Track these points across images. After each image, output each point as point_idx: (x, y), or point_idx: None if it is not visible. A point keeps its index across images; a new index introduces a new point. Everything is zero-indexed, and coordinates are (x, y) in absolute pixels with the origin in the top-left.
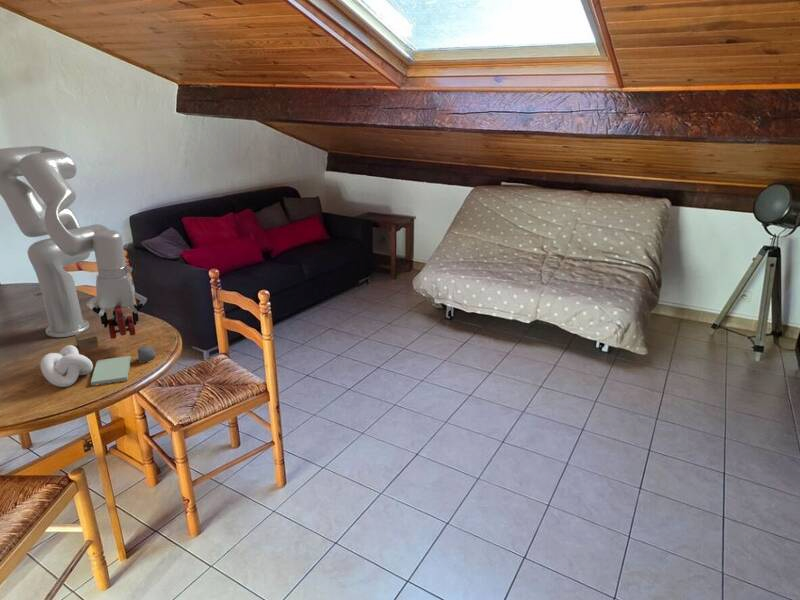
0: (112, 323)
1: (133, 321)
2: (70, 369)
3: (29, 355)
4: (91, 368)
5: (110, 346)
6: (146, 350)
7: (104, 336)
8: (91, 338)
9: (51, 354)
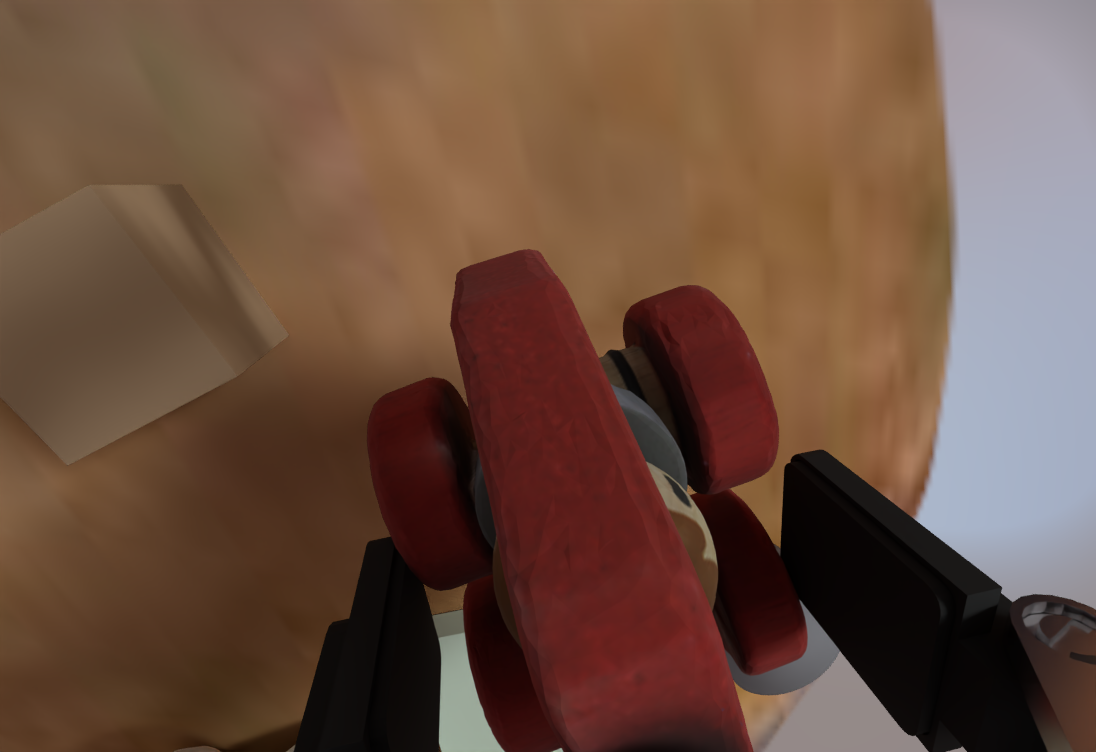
0: (490, 572)
1: (818, 617)
2: None
3: None
4: None
5: (404, 341)
6: (793, 663)
7: (234, 62)
8: (196, 393)
9: None
